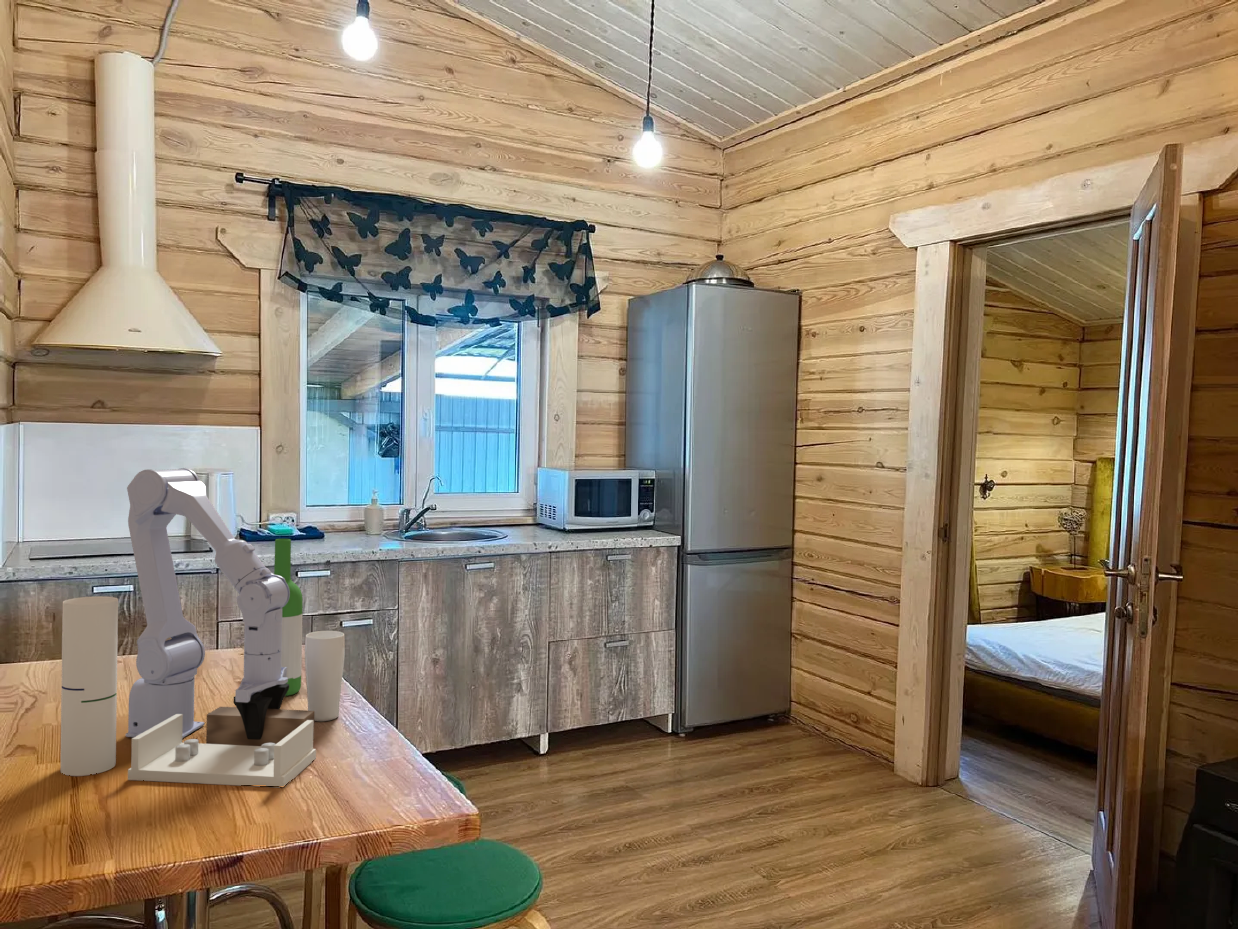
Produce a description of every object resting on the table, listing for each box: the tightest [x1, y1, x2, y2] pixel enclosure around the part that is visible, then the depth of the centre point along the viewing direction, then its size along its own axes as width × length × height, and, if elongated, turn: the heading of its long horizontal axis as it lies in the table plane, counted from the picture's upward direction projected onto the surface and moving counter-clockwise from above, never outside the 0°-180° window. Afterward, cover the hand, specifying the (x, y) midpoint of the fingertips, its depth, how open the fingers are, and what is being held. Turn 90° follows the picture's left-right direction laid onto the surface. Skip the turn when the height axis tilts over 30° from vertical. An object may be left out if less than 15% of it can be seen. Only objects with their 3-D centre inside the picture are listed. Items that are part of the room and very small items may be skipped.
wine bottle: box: [273, 538, 304, 697], centre depth 177 cm, size 8×8×30 cm
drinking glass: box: [304, 630, 346, 722], centre depth 162 cm, size 7×7×15 cm
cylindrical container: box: [60, 595, 119, 777], centre depth 135 cm, size 7×7×25 cm
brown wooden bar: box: [205, 706, 315, 746], centre depth 149 cm, size 16×4×5 cm, turn 87°
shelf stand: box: [127, 714, 317, 786], centre depth 137 cm, size 23×12×6 cm, turn 87°
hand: (261, 733), depth 149 cm, fingers closed on brown wooden bar, 4 cm apart
